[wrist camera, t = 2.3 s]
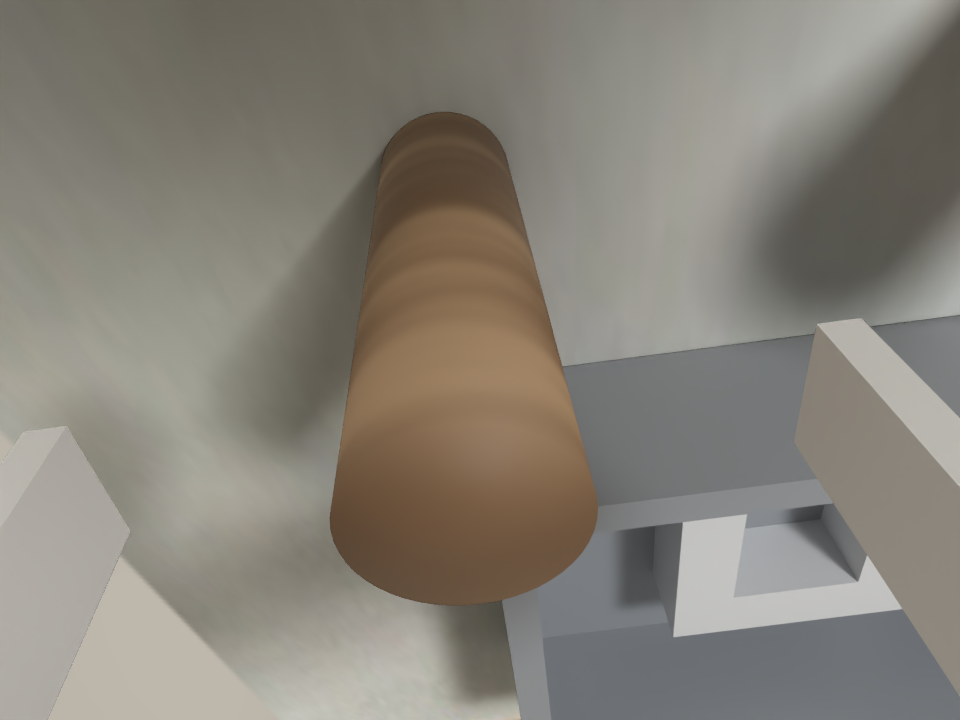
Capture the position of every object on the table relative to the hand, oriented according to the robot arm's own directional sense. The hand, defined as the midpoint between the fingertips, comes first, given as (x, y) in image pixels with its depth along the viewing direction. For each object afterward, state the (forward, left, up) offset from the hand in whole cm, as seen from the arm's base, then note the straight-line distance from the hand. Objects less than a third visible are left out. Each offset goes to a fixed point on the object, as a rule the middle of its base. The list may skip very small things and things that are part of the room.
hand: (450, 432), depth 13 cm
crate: (+17, +12, -12) cm, 24 cm away
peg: (0, 0, -12) cm, 12 cm away
